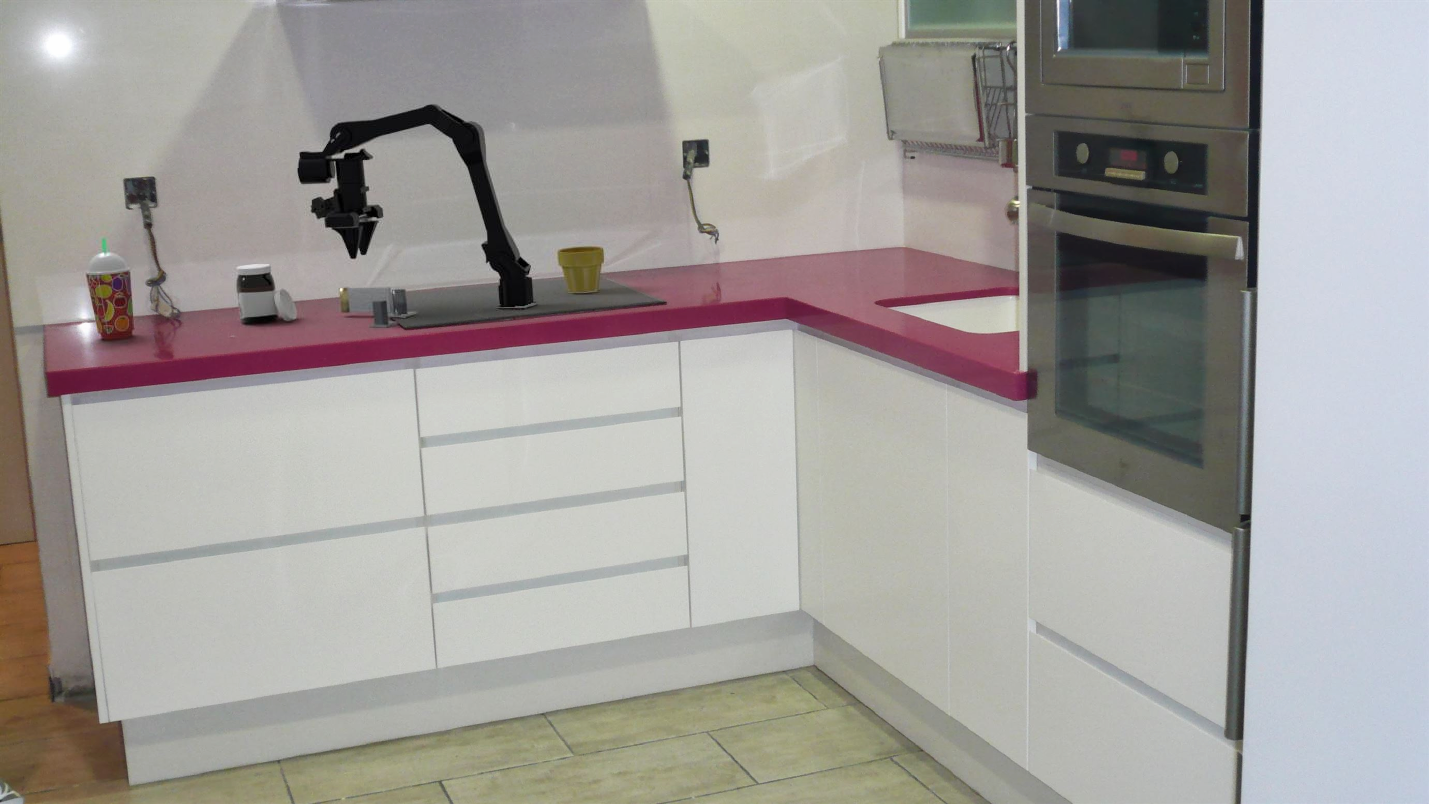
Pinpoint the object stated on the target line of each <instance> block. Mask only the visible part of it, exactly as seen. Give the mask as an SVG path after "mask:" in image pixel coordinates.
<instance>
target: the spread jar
mask: <svg viewBox="0 0 1429 804" xmlns="http://www.w3.org/2000/svg"><path fill="white" fill-rule="evenodd" d="M271 272H272V267H271V264H267V263H256V264H254V263H253V264H244V265H239V266H237V267H236V274H237V277H236V283H235V286H236V287H235V288H236V297H237V304H238V305H237V306H238V310H239V311H238V312H239V319H240V321H241V323H242V324H245V325H262V324H267V323H268V324H269V323H273V322H276V321H277V320H278V318H279V315H280V316H281V318H282V319H283V320H284V321H286V322H291V321H294V320H296V319H297V316H298V311H297V307H296V304H295V302H294V299H293V298H292V296H291V295H290V293H289V291H287V290H286V289H284V288H280V289H278V290H276V284H275V279H274V277H273V274H271Z"/></svg>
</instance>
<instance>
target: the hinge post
mask: <svg viewBox="0 0 1429 804" xmlns="http://www.w3.org/2000/svg"><path fill="white" fill-rule="evenodd" d="M406 292H407V291H406V288H396V289H391V298H392V308H393V312H394V314H396V315H397V314H398V315H401V314H413V313H417V312H418V311H408V303H407V301H408V300H407V293H406ZM393 312H389V313H388V319H392V318H391V316H393V314H392V313H393Z"/></svg>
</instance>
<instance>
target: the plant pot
mask: <svg viewBox="0 0 1429 804" xmlns="http://www.w3.org/2000/svg"><path fill="white" fill-rule="evenodd" d="M604 251H605V250H604V247H601V246H596V245H594V246H592V245H589V246H588V245H586V246H585V245H584V246H575V247H574V246H573V247H566V248H561V249H558V250H557V262H558V266H559V267H561V270H562V272H563V276H564V280H565V283H566V288H567V291H568V293H569V292H588V291H595V290H598V291H599V288H600V281H601V272H602V271H601V270H602V264H604V262H605V252H604Z"/></svg>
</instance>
